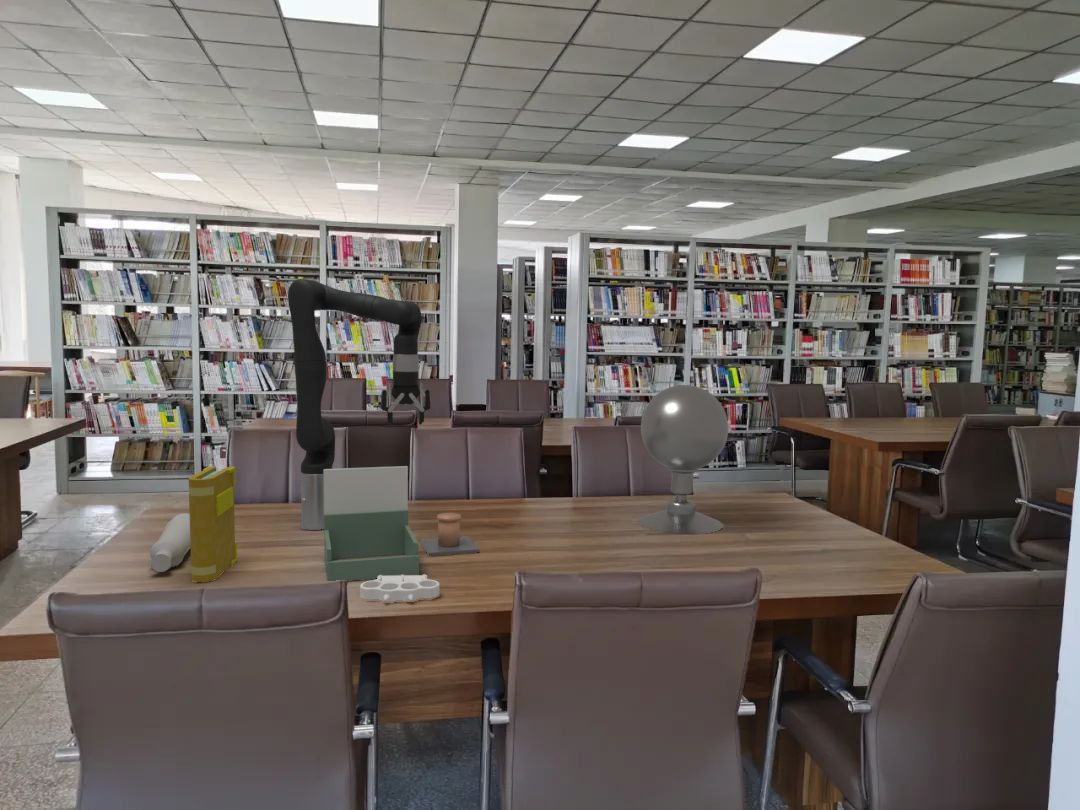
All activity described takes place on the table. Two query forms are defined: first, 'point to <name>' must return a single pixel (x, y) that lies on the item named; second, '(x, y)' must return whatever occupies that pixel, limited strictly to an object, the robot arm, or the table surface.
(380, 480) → the box
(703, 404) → the desk lamp
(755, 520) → the table surface
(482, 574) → the table surface
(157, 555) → the bottle
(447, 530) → the pot
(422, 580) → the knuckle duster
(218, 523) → the book
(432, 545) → the slate pad
